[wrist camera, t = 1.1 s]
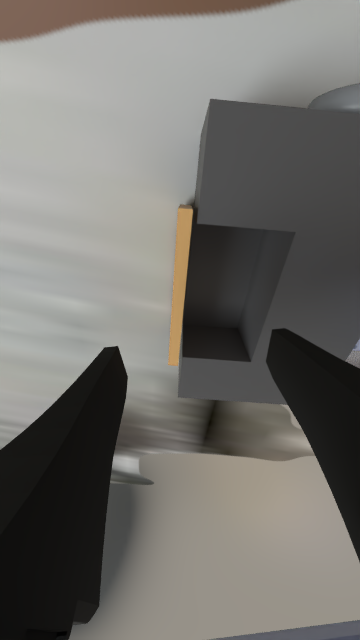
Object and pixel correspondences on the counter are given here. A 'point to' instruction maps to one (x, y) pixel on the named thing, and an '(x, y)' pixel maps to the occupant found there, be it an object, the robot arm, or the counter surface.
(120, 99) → the counter surface
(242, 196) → the grey recessed tray block
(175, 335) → the door
